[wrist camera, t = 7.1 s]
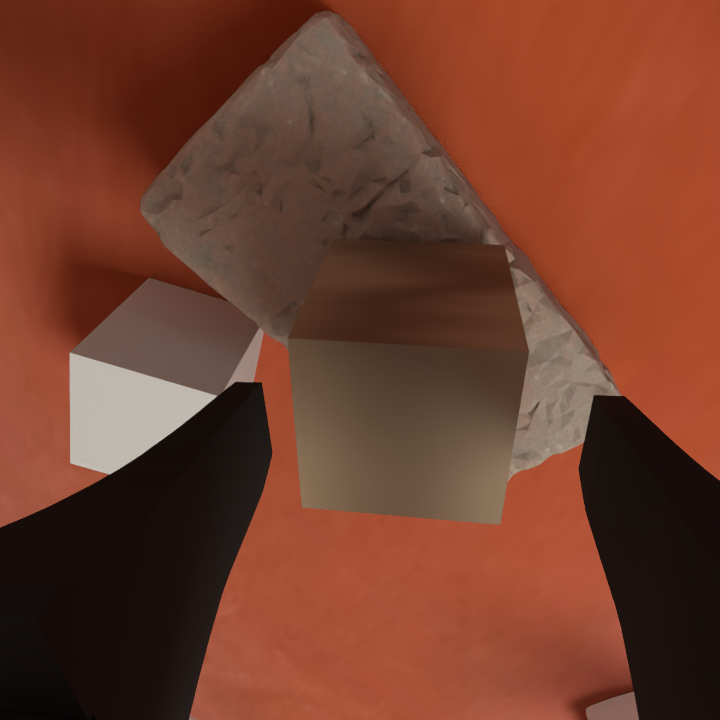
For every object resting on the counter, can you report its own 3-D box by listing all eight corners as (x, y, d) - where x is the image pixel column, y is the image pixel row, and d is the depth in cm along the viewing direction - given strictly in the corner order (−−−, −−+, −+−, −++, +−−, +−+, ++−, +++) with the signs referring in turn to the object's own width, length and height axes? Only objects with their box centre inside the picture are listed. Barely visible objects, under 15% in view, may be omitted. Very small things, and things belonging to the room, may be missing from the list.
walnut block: (504, 244, 17) (529, 351, 12) (486, 387, 20) (499, 524, 15) (333, 238, 17) (287, 338, 12) (338, 378, 20) (301, 507, 15)
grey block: (268, 312, 24) (220, 396, 19) (248, 405, 27) (202, 501, 22) (149, 277, 24) (69, 352, 19) (141, 374, 27) (70, 463, 22)
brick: (614, 360, 24) (647, 432, 20) (445, 452, 27) (445, 529, 23) (341, -5, 18) (311, -6, 14) (176, 170, 22) (115, 207, 18)
